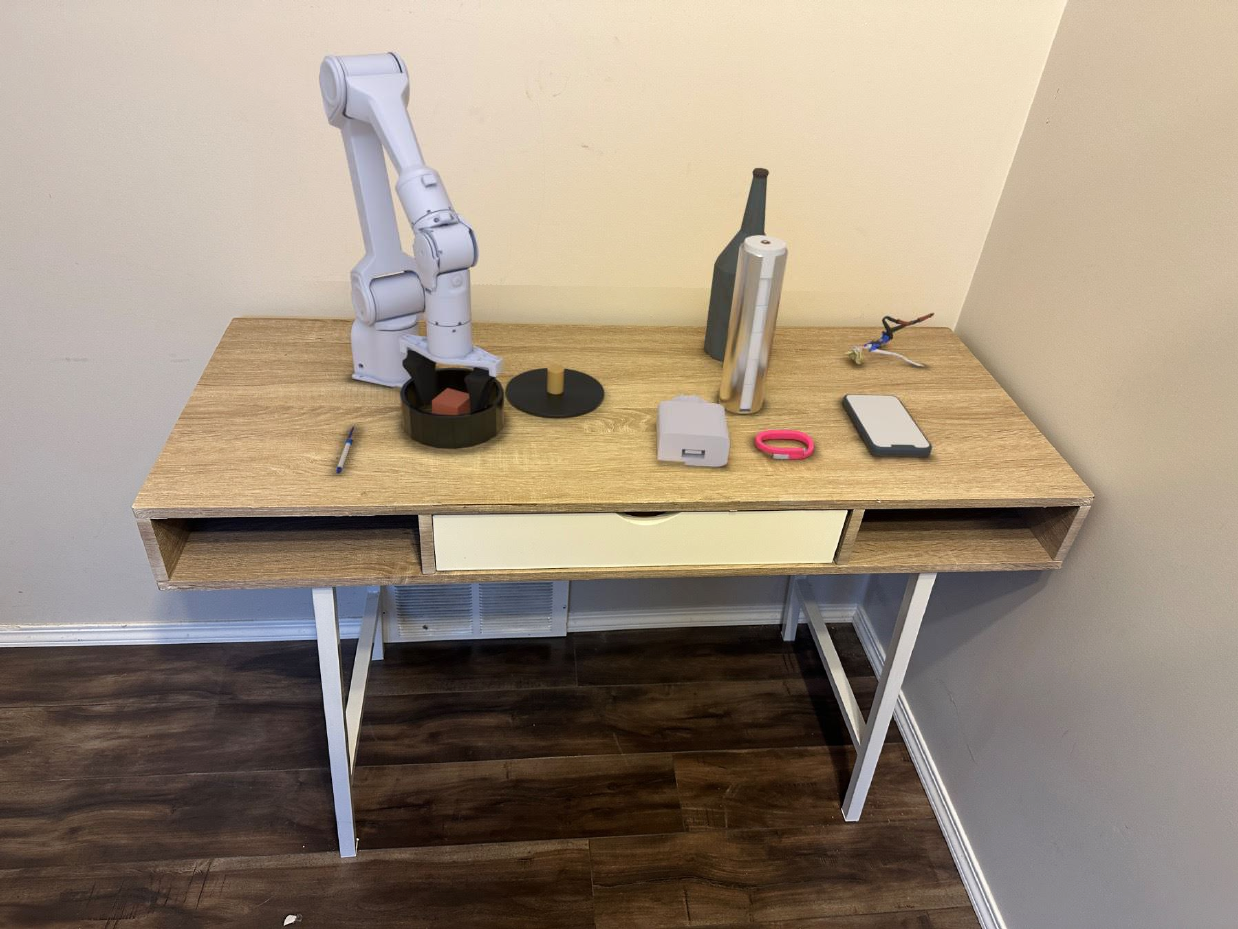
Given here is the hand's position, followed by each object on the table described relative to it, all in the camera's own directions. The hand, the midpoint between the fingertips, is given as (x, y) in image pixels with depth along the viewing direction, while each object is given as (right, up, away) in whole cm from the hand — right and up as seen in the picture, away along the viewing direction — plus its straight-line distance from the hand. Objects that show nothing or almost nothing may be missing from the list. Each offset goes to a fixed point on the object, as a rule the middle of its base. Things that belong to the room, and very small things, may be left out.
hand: (453, 409), depth 123 cm
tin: (0, -2, +1) cm, 2 cm away
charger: (+32, -4, +3) cm, 33 cm away
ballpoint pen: (-13, -6, -5) cm, 15 cm away
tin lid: (+13, +3, +9) cm, 17 cm away
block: (0, -2, +1) cm, 2 cm away
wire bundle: (+66, +10, +28) cm, 72 cm away
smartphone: (+61, -2, +8) cm, 62 cm away
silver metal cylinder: (+41, +1, +12) cm, 42 cm away
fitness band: (+45, -5, +2) cm, 46 cm away
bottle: (+41, +10, +25) cm, 50 cm away
